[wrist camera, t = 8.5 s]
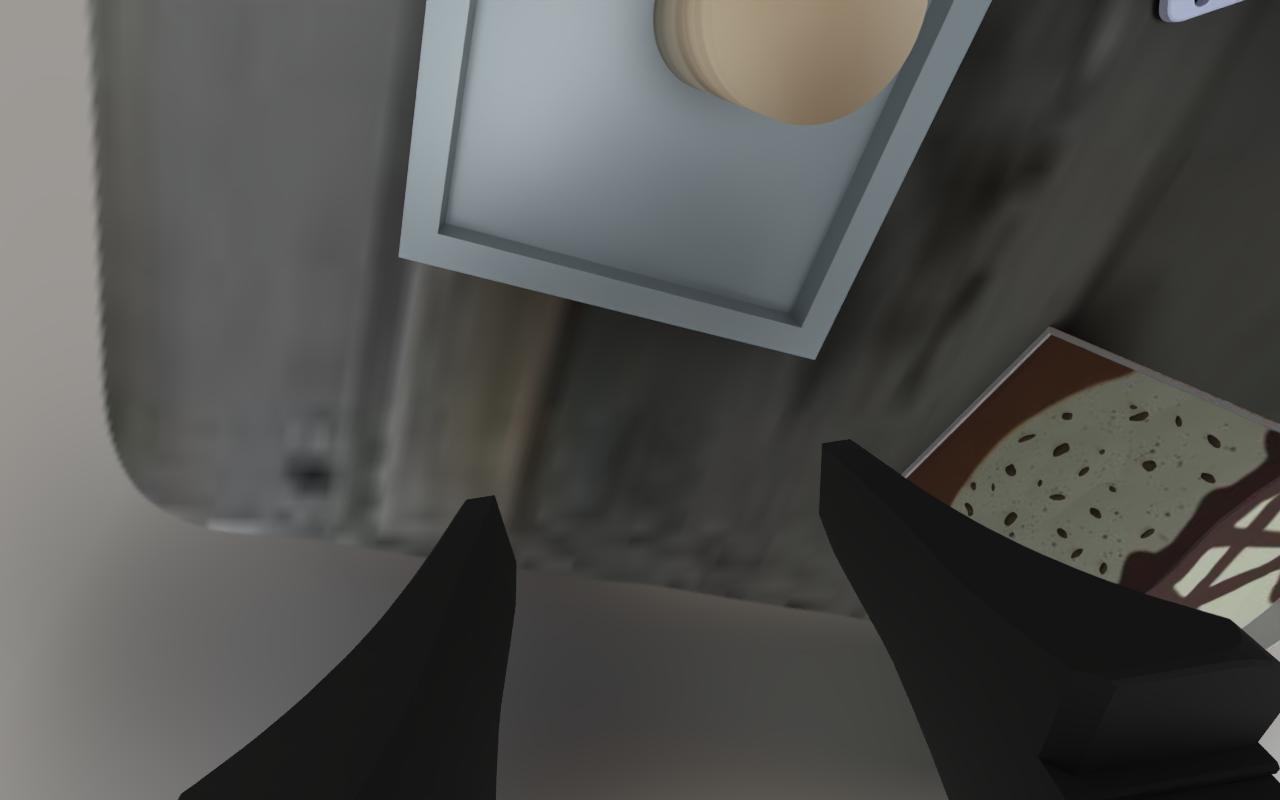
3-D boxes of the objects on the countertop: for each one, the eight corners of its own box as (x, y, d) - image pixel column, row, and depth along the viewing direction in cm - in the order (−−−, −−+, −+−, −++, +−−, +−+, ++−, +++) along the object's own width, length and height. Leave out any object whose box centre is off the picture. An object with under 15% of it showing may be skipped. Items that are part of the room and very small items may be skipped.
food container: (950, 557, 30) (1101, 765, 21) (861, 513, 28) (990, 724, 19) (1167, 365, 25) (1475, 534, 17) (1080, 294, 23) (1382, 446, 14)
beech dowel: (761, -90, 15) (913, -191, 9) (795, 59, 17) (943, 72, 10) (632, -26, 16) (681, -75, 9) (679, 112, 18) (749, 159, 11)
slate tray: (1014, -123, 16) (1061, -141, 15) (798, 338, 23) (814, 359, 21) (486, -386, 13) (475, -444, 11) (412, 239, 19) (398, 256, 18)
